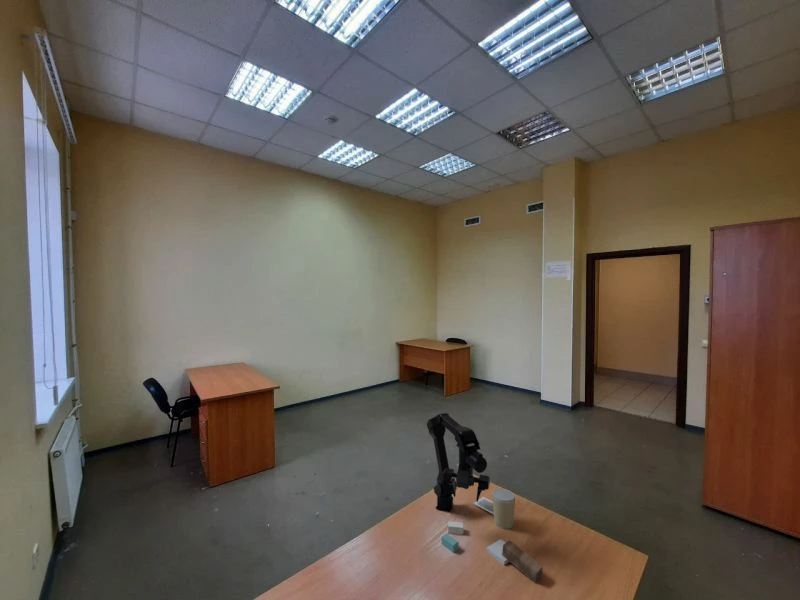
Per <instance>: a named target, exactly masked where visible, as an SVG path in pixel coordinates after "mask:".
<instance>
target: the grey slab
mask: <svg viewBox="0 0 800 600" xmlns="http://www.w3.org/2000/svg"><path fill="white" fill-rule="evenodd" d="M505 543H506V542H505V541H504V540H503V539H501V538H500V539H499V540H497V541H495V542H493V543H492V544H490V545H488V546H487V547H486V552H487V553H488V554H490V555H491V556H492V557H493V558H494V559H495V560H497V561H498V562H499V563H501V564H502V565H503V566H505V565H507V564H508V563H511V562H510V561H508V560H507V559H506V558H505V557H504V556H503V555H502V550H503V545H504V544H505Z"/></svg>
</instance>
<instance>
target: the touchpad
mask: <svg viewBox="0 0 800 600" xmlns="http://www.w3.org/2000/svg"><path fill="white" fill-rule="evenodd" d="M473 505H475V506H477V507H479V508H481V509H483V510H484V511H486V512H488V513H490V514H492V515H494V509H493V500H491V499H488V498H486V497H485V496H481V498H479V499H478V502H477V500H476V501H475V502H473Z"/></svg>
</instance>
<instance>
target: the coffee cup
mask: <svg viewBox="0 0 800 600" xmlns="http://www.w3.org/2000/svg"><path fill="white" fill-rule="evenodd" d="M492 502H493V509H494V514H493V520H494V523H495V525H496V526H497V527H499V528H501V529H504V530H505V529H506V530H507V529H512V528H513V527H514V519H515V507H516V505H515V504H516V496H515V494H514V493H513V492H512V491H511V490H509V489H506V488H497V489H494V490H493V491H492Z"/></svg>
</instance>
